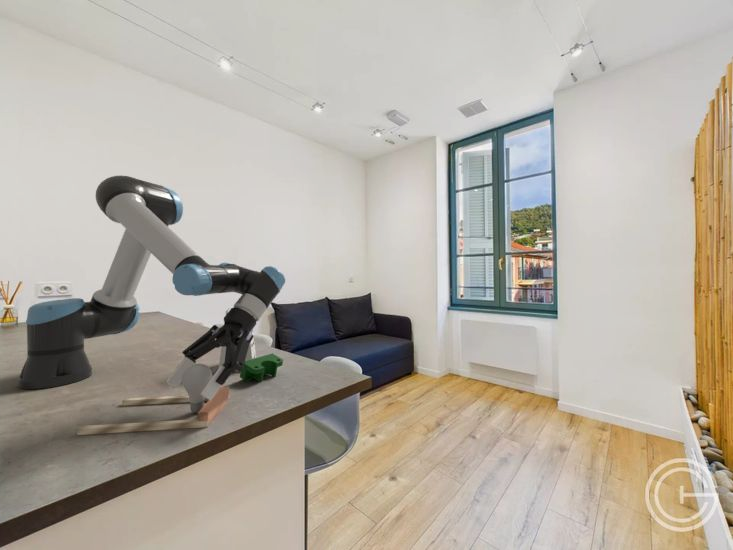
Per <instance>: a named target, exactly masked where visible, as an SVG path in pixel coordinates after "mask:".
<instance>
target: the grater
mask: <svg viewBox="0 0 733 550" xmlns="http://www.w3.org/2000/svg"><path fill="white" fill-rule="evenodd" d="M231 308H234V306H230V307H229V308H228V309H227V310H225V315H226V314H227V313H228V312H229V311H230V309H231ZM250 333H251V334H252V335H253V336H254V337H253V339H252V340H251V342H250V344H249V348H248V351H247V355H246V359H245V361H248V360H251V359H255V358H257V353H256V345H255V335H254V328H253V329H252V331H251V332H250ZM225 354H226V347H220V355H219V363H218V368H219V367H220V366H222V367H224V366H223V365H224V364H223V363H225ZM238 363H239V362H238ZM222 364H223V365H222ZM224 368H225V367H224ZM236 372H239V371H238V370H237V371H236Z"/></svg>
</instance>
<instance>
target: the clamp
mask: <svg viewBox="0 0 733 550" xmlns="http://www.w3.org/2000/svg"><path fill="white" fill-rule="evenodd" d="M283 363H284V359H283V358H281V357H280V356H278V355H276V354H274V353H269V354H265V355H262V356H258V357H256V358H255V359H251V360H248V361H245V362H244V366H243V369H242V370H241V371H239V372H240V373H239V377H240V379H242V380H243V381H244V382H248V381H251V380H254V379H255V380H256V381H258V382H260V383H262V382H263V379H264V376H265V375H268V376H272V377H274V378H275V377H276V376H277V372H278V368H279V367H282V366H283Z"/></svg>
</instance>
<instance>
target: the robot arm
mask: <svg viewBox="0 0 733 550" xmlns="http://www.w3.org/2000/svg"><path fill="white" fill-rule="evenodd" d="M95 200H96V204H97V206H98V208H99V209H100V211H101V212H102V213H103V214H104V215H105V216H106V217H107V218H108V219H109V220H110V221H112V222H114V223H116V224H120V225H122V227H123V228H125V230H124V232H123V235H122V237H121V240H120V242H119V245H118V247H117V249H116V252H115V254H114V257H113V259H112V263H111V264H110V268H109V270H108V273H107V276H106V277H105V280H104V283H103V285H102V288H101V289H98V290H96V291H95V292H94V293H93V294H92V297H91V299H90V301H85V300H84V299H83V298H79V297H78V298H77V297H76V298H65V299H64V298H63V299H56V300H55V299H53V300H49V301H42V302H39V303H35V304H33V305H32V306H29V308H28V310H27V315H26V321H25V322H26V323H25V324H26V338H27V339H26V343H27V344H26V345H27V346H26V347H27V355H26V356H27V358H26V360H25V362H24V365H23V367H22V369H21V373H20V375H19V376H18V379H17V387H18V388H19V389H21V390H41V389H47V388H54V387H60V386H64V385H70V384H72V383H73V384H74V383H76V382H79V381H83V380H85V379H87V378H89V377H90V376H92V374H93V366H92V365H91V363H90V360H89V357H88V356H87V354H86V351H85V340H88V339H93V338H94V339H95V338H99V337H103V336H110V335H117V334H121V333H124V332H128V331H129V330H131V329H133V328H134V327H135V326H136V325H137V323H138V322H139V320H140V319H139V318H140V315H141V312H140V306H139V304H138V300H137V298H136V297H135V296H134V295H135V294H136V293H135V292H136V291H137V288H138V285H139V283H140V282H141V279H142V275H143V274H144V271H145V269H146V267H147V265H148V262H149V259H150V257H151V254H152V256H154V257H155V258H156V259H157V260H158V261H159V262H160V263H161V264H162V265H163V267H165V268H166V269H167V270H168V271H169V272H170V273H171V274H172V279H171V280H172V284H173V285H174V289H175V290H176V292H178V293H179V294H181V295H183V296H192V297H196V296H199V297H200V296H205V295H214V294H215V295H216V294H226V293H236V294H239V295H241V296H240V297H239V298H238V299H237V301H236V302H234V304H233V307H234V308H230V309H229V310H228V313H227V314H226V313H225V316H224V317H223V322H224V323H223V325H221V326H220V327H218V326H217V325H216V324H213V326H212V327H211V328H210V329H208V331H206V332H205V333H204V334H203V335H202V336H200V337H199V338H197V340H195V341H194V342H193V343H191V344H190V345H188V346H187V347H186V348H185V349H184V350H183V351H182V352H181V353H182V354H183V356H184V358H183V359H182V361H181V362H180V364H179V365H178V366H177V367H176V368H175V369H174V371H173V372H172V373H171V374H170V376H169V377H168V378H167V379H166V381H165V383H166V384H168V385H169V386H171V387H173V388H175V389H176V388H177V387H179V385H180V384H181V383H182V376H183V373H184V372H185V370H186V369H187V368H189V367H190V366H192V365H194V364H197V363H196V362H197V360H198V359H200V358H202V357H203V356H205V355H207V354H208V353H210V352H212V350H215V349H218V348H221V347H226V354H225V363H223V364H224V365H223V364H222V365H223V366H224V367H225V368H224V367H222V366H220V367H219V366H218V368H217V370H216V372H215V373H214V375H212V378H211V380H210V381H209V383H208V384H207V385H206V387H205V388H204V389H203V391H202V392H201V395H202V396H204V397H205V398H207V399H208V400H212V399H213V397H214V396H215V394H216V393H217V391H218V390H219V389H220V388H221V387H223V386H224V384H225V383H226V381H227V380H228V379H229V378H230V376H231V374H233V373H234V372H241V370H242V369H243V366H244V362H245V359H246V355H247V351H248V348H249V344H250V342H251V340H252V339H253V337H254V338H255V335H254V336H253V335H252V334H251V333H250V332H251V331H252V329H253V330H254V328H255V327H256V325H257V322H259V321H260V319H261V318H262V316H263V315H264V314H265V312H266V311H267V309H268V308H269V307H270V305H271V304H272V302H273V301H274V300H275V299H276V298H277V296H278V294H280V292H281V291H282V289H283V287H284V285H285V284H286V277H285V275H284V273H283V272H282V271H281V270H279V269H278V268H276V267H274V266H271V265H269V266H265V267H264V268H262V269H261V270H260V271H257V270H253V269H249V268H247V267H243V266H239V265H237V264H235V263H229V262H221V263H220V264H217V265H215V264H214V265H213V264H209V263H208V262H207V261H205V259H204V258H202V257H201V256H200V255H199V254H198V253H197V252H196V251H194V249H192V248H191V247H190V246H189V245H188V244H187V243H186V242H185V241H184V240H182V238H180V237H179V236H178V235H177V233H175V232H174V231H173V230H172V229H171V228H170V227H169V226H173V225H175V224H177V223H179V222H180V220H181V219H182V217H183V215H184V214H183V212H184V205H183V202H182V199H181V197H180V196H179V194H178V193H177V192H176V191H175V190H172V189H170V188H168V187H165V186H163V185H161V184H160V185H159V184H156V183H153V182H150V181H146V180H143V179H138V178H136V177H132V176H129V175H114V176H110V177H107V178H106V179H104V180H102V181H101V182H100V183H99V184H98V186H97V188H96V190H95ZM238 362H239V363H238ZM237 370H238V371H237Z"/></svg>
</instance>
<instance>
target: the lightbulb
mask: <svg viewBox="0 0 733 550" xmlns="http://www.w3.org/2000/svg"><path fill="white" fill-rule="evenodd" d="M212 377H213V372H212V369H211V368H210V367H209V366H208V364H207V365H206V364H203V363H195V364H194V365H192V366H190V367H189V368H187V369H186V370H185V372H184V373H183V376H182V381H181V384H182V386H183V388H184V389H185V390H186V393H187V394H188V395H189V401H190V402H189V403H190V411H191V412H192V413H195V414H198V412H199V411H200V410H201V409H202V408H203V406H204V405H205V404H204V403H205V401H204V400H205V397H204V396H202V395H201V392H202V391H203V389H204V388H205V387H206V385H207V384H208V383H209V381H210V380H211V378H212ZM188 395H187V396H188Z"/></svg>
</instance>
